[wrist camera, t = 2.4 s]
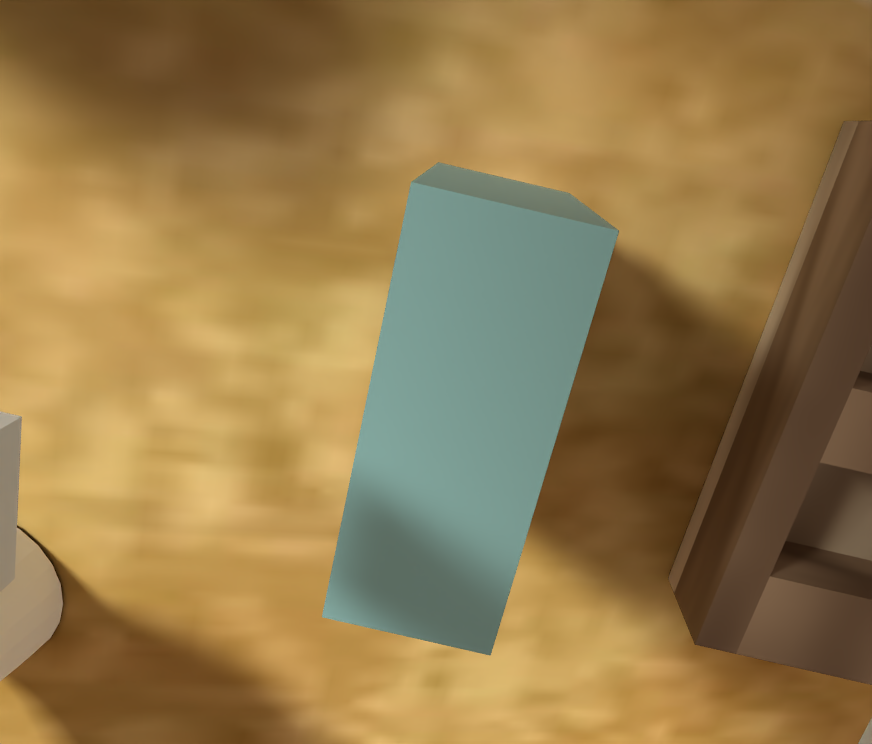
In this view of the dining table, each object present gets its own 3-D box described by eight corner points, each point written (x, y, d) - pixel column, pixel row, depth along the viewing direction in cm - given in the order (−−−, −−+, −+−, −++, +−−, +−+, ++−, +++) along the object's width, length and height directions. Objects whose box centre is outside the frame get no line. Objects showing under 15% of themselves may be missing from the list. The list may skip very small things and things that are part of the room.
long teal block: (387, 420, 28) (321, 616, 17) (444, 157, 25) (411, 182, 14) (488, 443, 28) (490, 655, 17) (557, 184, 25) (618, 230, 14)
